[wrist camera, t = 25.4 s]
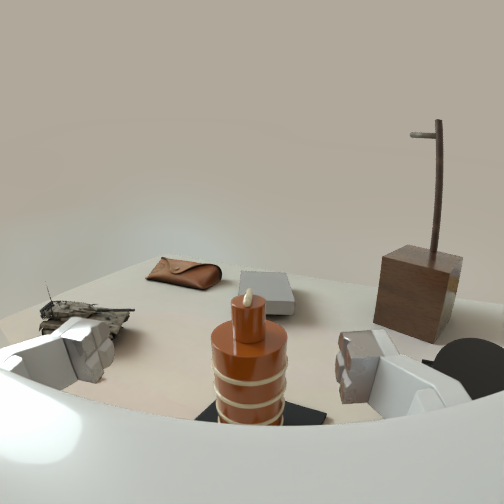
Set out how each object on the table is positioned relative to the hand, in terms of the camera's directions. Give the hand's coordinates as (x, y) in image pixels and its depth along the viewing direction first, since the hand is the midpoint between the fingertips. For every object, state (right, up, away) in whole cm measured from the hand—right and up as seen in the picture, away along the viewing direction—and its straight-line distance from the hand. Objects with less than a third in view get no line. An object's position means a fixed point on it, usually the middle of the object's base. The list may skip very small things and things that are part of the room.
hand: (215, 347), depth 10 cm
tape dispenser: (+25, -16, +14) cm, 33 cm away
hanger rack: (+31, -9, +38) cm, 50 cm away
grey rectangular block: (+4, -7, +40) cm, 41 cm away
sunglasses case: (-15, -4, +61) cm, 63 cm away
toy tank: (-26, -11, +34) cm, 44 cm away
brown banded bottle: (+1, -15, +17) cm, 22 cm away
